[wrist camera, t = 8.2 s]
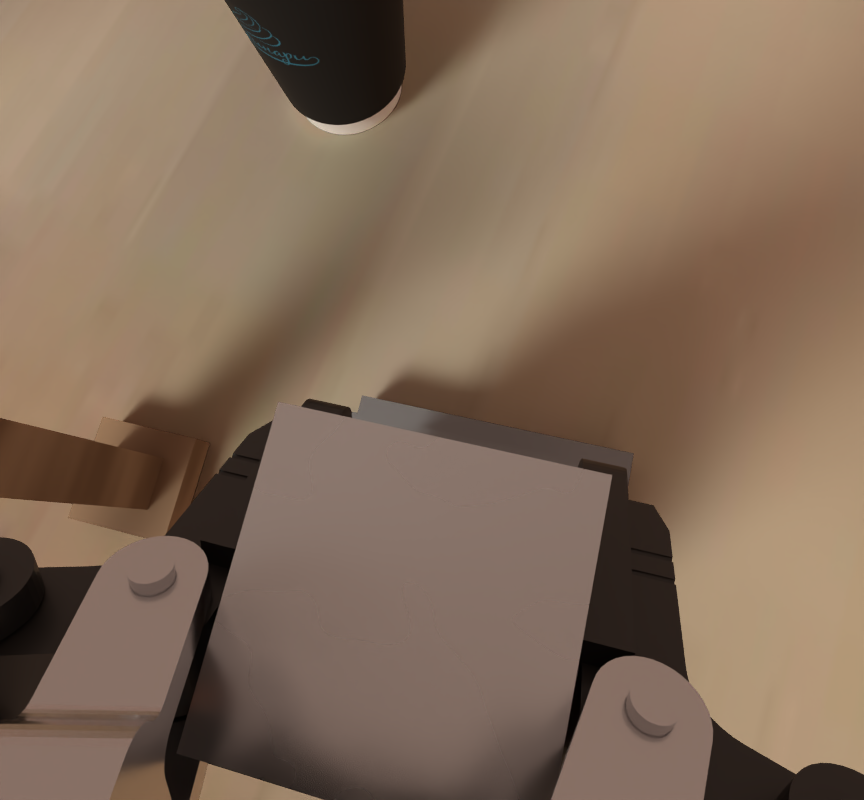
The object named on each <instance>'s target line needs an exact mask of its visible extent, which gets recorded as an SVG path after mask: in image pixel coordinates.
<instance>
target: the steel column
mask: <svg viewBox="0 0 864 800" xmlns="http://www.w3.org/2000/svg"><path fill="white" fill-rule="evenodd" d="M611 480H612V475H609V474H605V473H600V472H596V471H591V470H587V469H582V468H578V467H573V466H568V465H564V464H559V463H555V462H550V461H546V460H541V459H537V458H532V457H527V456H523V455H518V454H514V453H509V452H505V451H500V450H496V449H491V448H486V447H482V446H477V445H473V444H468V443H464V442H459V441H455V440H450V439H445V438H441V437H436V436H432V435H427V434H423V433H418V432H414V431H409V430H404V429H400V428H395V427H391V426H386V425H382V424H377V423H373V422H368V421H364V420H359V419H354V418H350V417H345V416H341V415H336V414H332V413H327V412H323V411H318V410H313V409H309V408H304V407H300V406H295V405H291V404H286V403H282V402H278V405H277V408H276V412H275V415H274V418H273V422H272V425H271V429H270V432H269V436H268V439H267V443H266V446H265V450H264V453H263V456H262V460H261V463H260V467H259V470H258V474H257V477H256V481H255V484H254V487H253V491H252V494H251V498H250V501H249V505H248V508H247V512H246V515H245V519H244V522H243V525H242V529H241V532H240V536H239V539H238V543H237V546H236V550H235V553H234V556H233V560H232V563H231V567H230V570H229V574H228V577H227V581H226V584H225V588H224V591H223V594H222V598H221V601H220V605H219V608H218V612H217V615H216V619H215V622H214V626H213V629H212V632H211V636H210V639H209V643H208V646H207V650H206V653H205V657H204V660H203V663H202V667H201V670H200V674H199V677H198V681H197V684H196V688H195V691H194V695H193V698H192V701H191V705H190V708H189V712H188V715H187V719H186V722H185V726H184V729H183V733H182V736H181V739H180V743H179V746H178V750H177V754H180V755H183V756H187V757H190V758H193V759H196V760H199V761H202V762H206V763H209V764H212V765H215V766H218V767H222V768H225V769H228V770H231V771H234V772H238V773H241V774H244V775H247V776H250V777H253V778H257V779H260V780H263V781H266V782H269V783H273V784H276V785H279V786H282V787H285V788H288V789H292V790H295V791H298V792H301V793H304V794H308V795H311V796H314V797H317V798H320V799H324V800H550V797H551V794H552V792H553V789H554V786H555V783H556V780H557V777H558V775H559V771H560V766H561V760H562V755H563V749H564V743H565V738H566V732H567V727H568V721H569V715H570V710H571V704H572V698H573V693H574V687H575V682H576V676H577V670H578V665H579V659H580V654H581V648H582V642H583V637H584V631H585V626H586V620H587V614H588V609H589V603H590V597H591V592H592V586H593V581H594V575H595V569H596V564H597V558H598V553H599V547H600V541H601V536H602V530H603V525H604V519H605V513H606V508H607V502H608V496H609V491H610V485H611Z"/></svg>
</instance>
